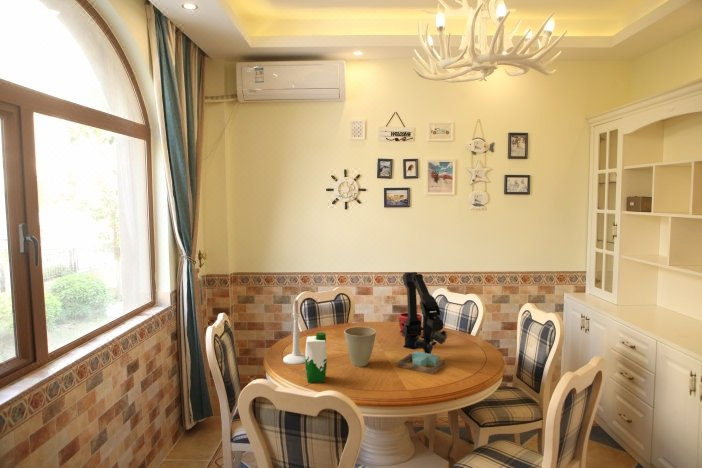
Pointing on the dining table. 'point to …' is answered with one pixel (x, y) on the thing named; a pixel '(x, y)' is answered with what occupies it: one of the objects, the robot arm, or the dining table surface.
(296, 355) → the candlestick
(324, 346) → the milk carton
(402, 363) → the dock
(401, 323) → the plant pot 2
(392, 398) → the dining table surface
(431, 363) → the tee
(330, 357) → the dining table surface
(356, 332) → the plant pot
